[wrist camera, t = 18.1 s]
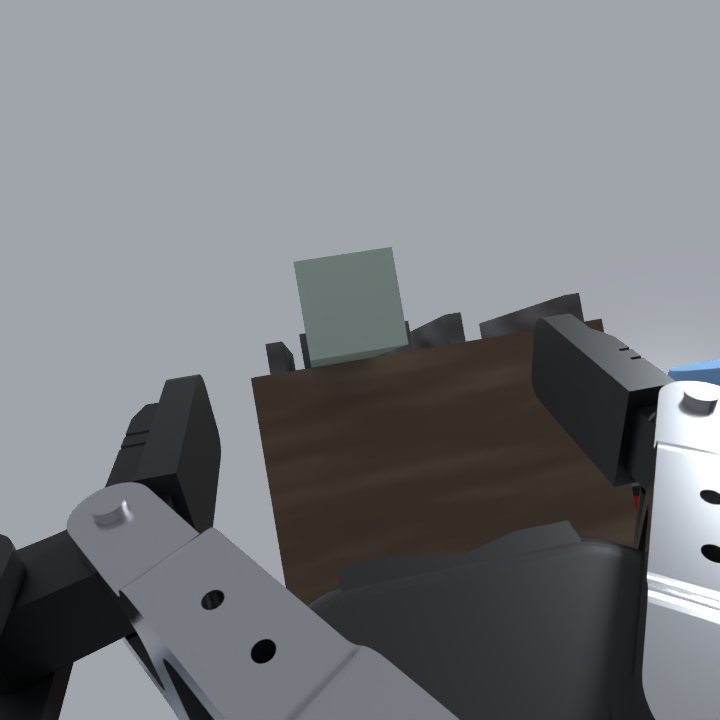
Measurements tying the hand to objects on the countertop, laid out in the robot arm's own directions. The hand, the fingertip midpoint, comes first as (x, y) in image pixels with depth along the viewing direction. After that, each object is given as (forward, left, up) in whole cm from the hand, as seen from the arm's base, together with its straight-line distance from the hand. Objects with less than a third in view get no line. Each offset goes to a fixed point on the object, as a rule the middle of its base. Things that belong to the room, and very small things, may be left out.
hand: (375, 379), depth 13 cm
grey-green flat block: (-4, -15, +1) cm, 16 cm away
